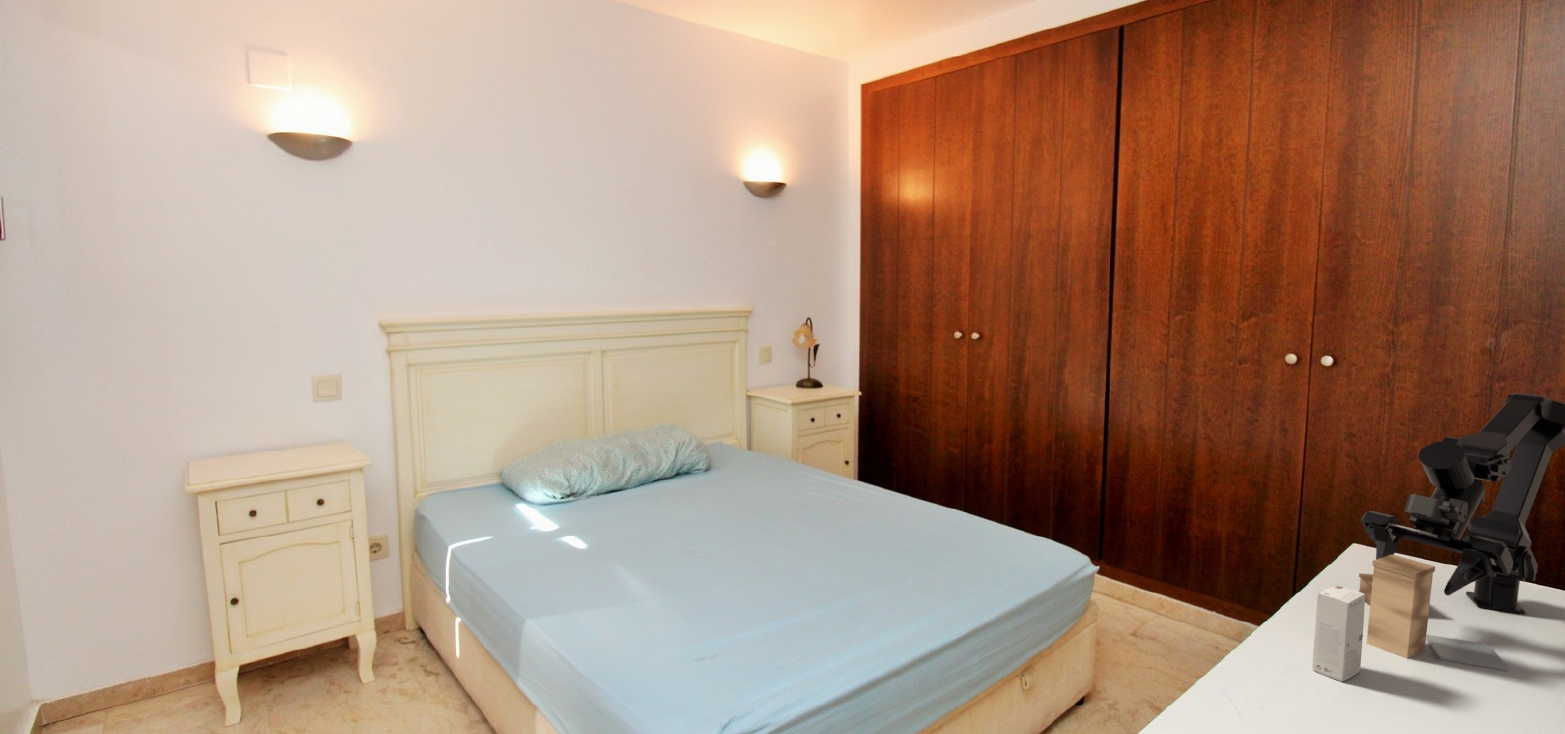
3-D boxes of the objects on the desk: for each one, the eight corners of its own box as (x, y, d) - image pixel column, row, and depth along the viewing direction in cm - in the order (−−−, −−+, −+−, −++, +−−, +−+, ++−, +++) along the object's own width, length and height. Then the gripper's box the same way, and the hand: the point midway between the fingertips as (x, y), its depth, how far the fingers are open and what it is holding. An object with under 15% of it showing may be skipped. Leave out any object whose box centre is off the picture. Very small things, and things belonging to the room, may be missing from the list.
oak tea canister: (1383, 635, 126) (1391, 554, 124) (1426, 650, 121) (1435, 566, 119) (1365, 643, 124) (1372, 560, 122) (1407, 659, 118) (1416, 573, 117)
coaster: (1423, 636, 125) (1424, 634, 125) (1487, 647, 122) (1487, 644, 122) (1439, 659, 118) (1439, 655, 118) (1507, 670, 115) (1507, 667, 115)
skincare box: (1343, 683, 112) (1351, 603, 110) (1309, 670, 115) (1316, 592, 114) (1361, 671, 115) (1369, 593, 113) (1327, 658, 119) (1334, 583, 117)
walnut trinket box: (1356, 597, 141) (1359, 573, 141) (1396, 599, 140) (1398, 575, 139) (1376, 612, 135) (1378, 587, 134) (1417, 615, 134) (1420, 590, 133)
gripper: (1371, 463, 131) (1329, 536, 127) (1514, 491, 115) (1471, 575, 111) (1391, 502, 136) (1351, 573, 132) (1530, 534, 119) (1489, 616, 115)
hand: (1410, 583), depth 122 cm, fingers open, 9 cm apart
